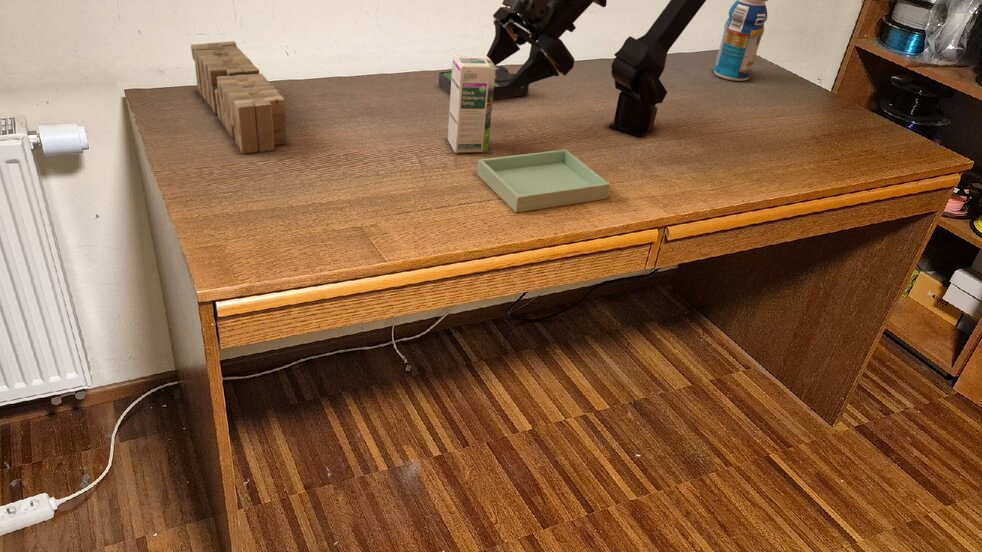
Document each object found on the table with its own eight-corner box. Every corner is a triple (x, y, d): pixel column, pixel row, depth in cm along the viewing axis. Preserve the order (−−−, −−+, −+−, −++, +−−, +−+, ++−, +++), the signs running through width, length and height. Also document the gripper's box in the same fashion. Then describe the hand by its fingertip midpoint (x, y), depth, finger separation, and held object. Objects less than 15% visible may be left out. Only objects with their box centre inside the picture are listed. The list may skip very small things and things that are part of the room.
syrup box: (454, 154, 132) (461, 65, 123) (446, 139, 136) (452, 53, 127) (487, 153, 133) (497, 66, 125) (478, 138, 138) (487, 53, 129)
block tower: (290, 153, 128) (239, 84, 147) (288, 102, 123) (235, 37, 142) (240, 159, 124) (195, 87, 143) (236, 107, 119) (189, 40, 138)
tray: (515, 212, 117) (517, 197, 116) (476, 174, 126) (478, 159, 125) (607, 198, 124) (610, 184, 122) (563, 163, 133) (566, 149, 132)
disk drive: (499, 79, 164) (437, 85, 157) (501, 65, 162) (438, 71, 155) (528, 96, 157) (464, 104, 150) (530, 82, 156) (465, 89, 148)
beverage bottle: (707, 68, 183) (731, -25, 171) (742, 70, 184) (769, -22, 172) (718, 80, 177) (744, -16, 165) (754, 83, 177) (783, -12, 166)
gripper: (510, -47, 128) (442, 26, 130) (570, -16, 115) (494, 64, 117) (545, 3, 136) (481, 71, 138) (604, 37, 123) (533, 112, 125)
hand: (495, 78), depth 130 cm, fingers open, 9 cm apart
